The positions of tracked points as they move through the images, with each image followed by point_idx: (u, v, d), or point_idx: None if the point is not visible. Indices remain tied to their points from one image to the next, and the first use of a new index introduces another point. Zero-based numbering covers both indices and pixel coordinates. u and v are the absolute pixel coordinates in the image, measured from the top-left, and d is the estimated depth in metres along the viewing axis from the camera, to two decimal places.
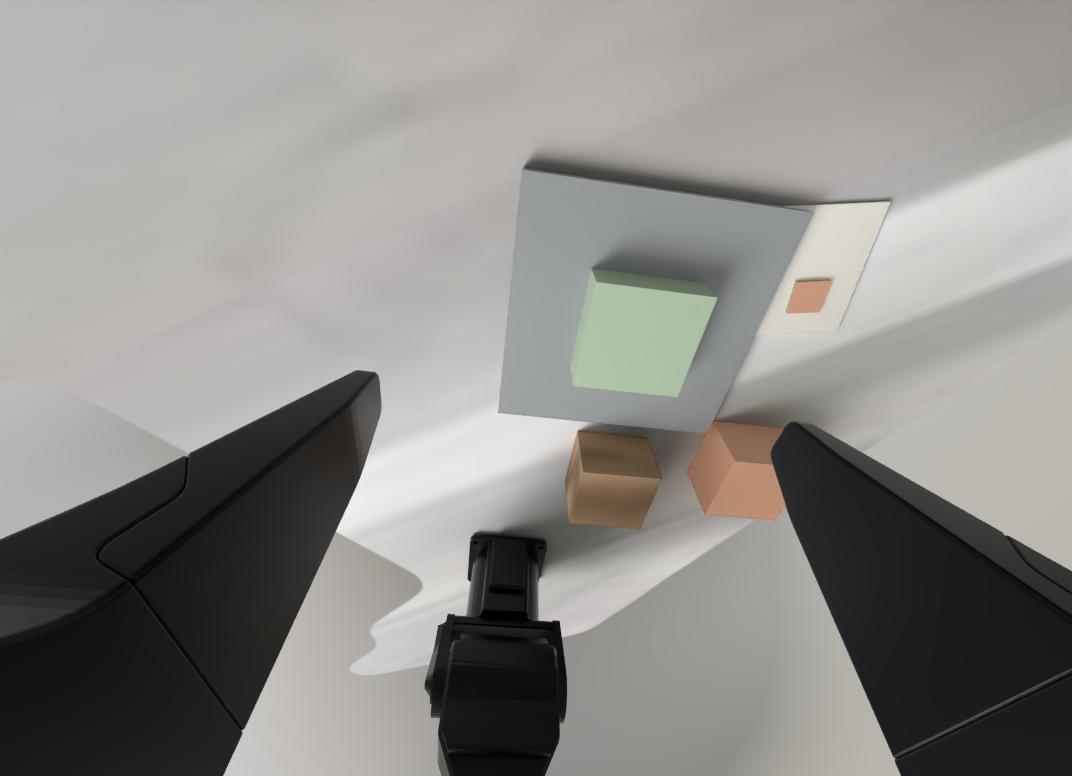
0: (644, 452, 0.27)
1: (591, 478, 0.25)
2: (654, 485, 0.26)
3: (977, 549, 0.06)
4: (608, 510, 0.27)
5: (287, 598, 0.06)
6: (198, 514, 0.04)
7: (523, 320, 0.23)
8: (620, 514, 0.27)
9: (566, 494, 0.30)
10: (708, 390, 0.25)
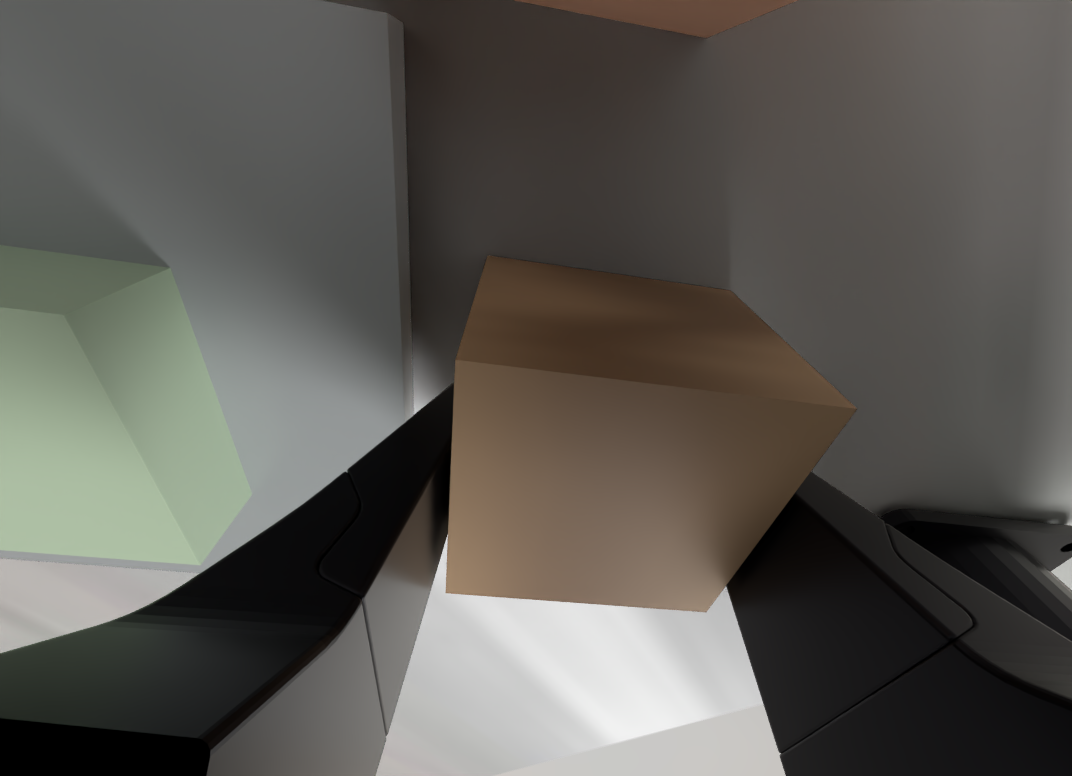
0: None
1: (474, 576, 0.07)
2: (505, 386, 0.05)
3: (847, 537, 0.05)
4: (665, 527, 0.06)
5: (418, 607, 0.06)
6: (387, 530, 0.04)
7: None
8: (705, 491, 0.06)
9: None
10: (144, 77, 0.06)
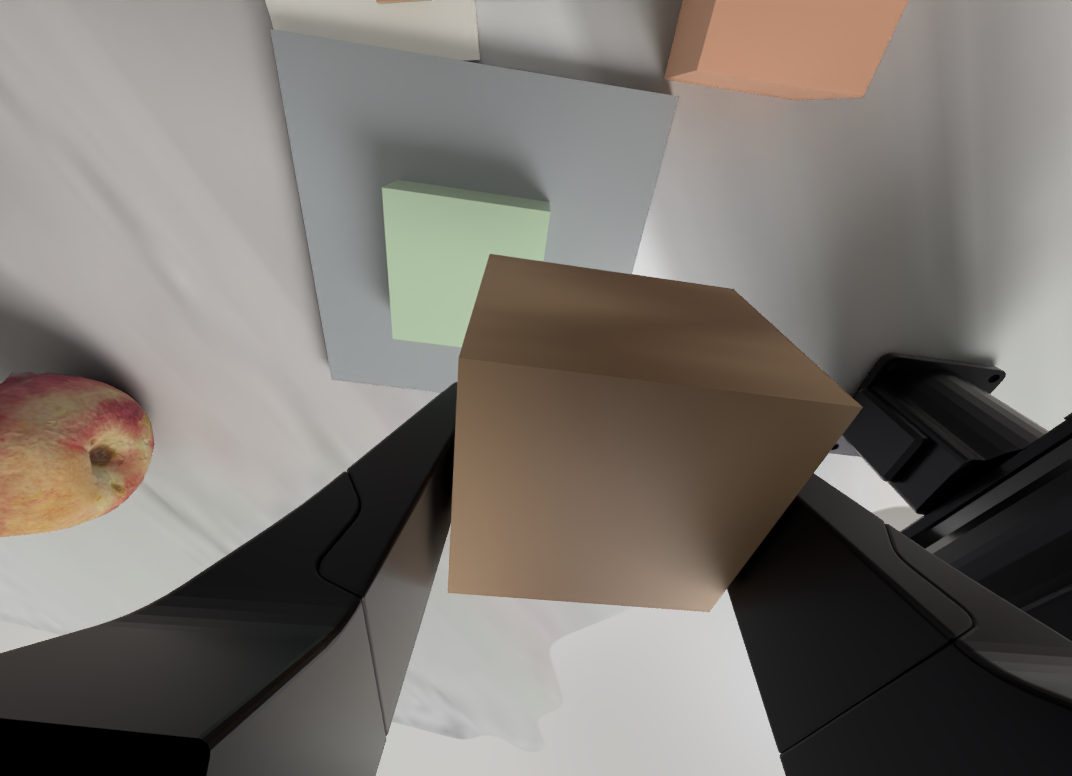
0: None
1: (477, 575, 0.07)
2: (508, 384, 0.05)
3: (847, 537, 0.05)
4: (668, 526, 0.06)
5: (418, 607, 0.06)
6: (387, 530, 0.04)
7: None
8: (709, 491, 0.06)
9: None
10: (577, 121, 0.15)
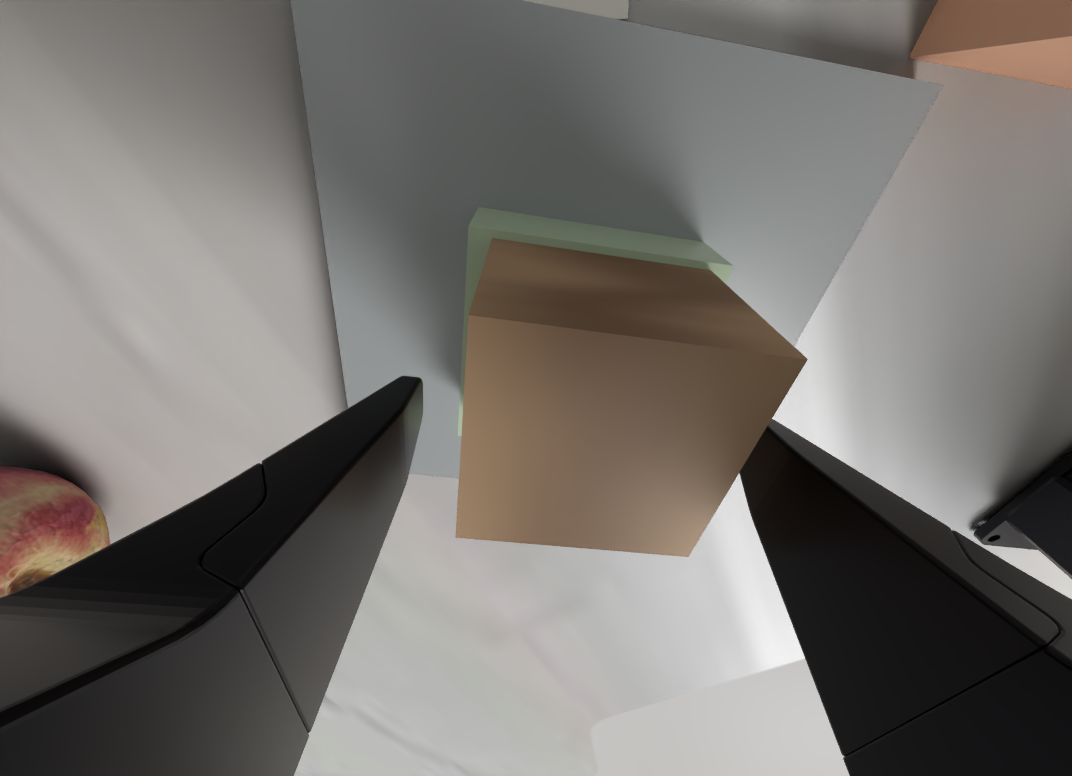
0: None
1: (482, 520, 0.08)
2: (509, 338, 0.06)
3: (919, 544, 0.06)
4: (649, 472, 0.07)
5: (348, 602, 0.06)
6: (286, 522, 0.04)
7: None
8: (682, 437, 0.07)
9: None
10: (773, 122, 0.09)
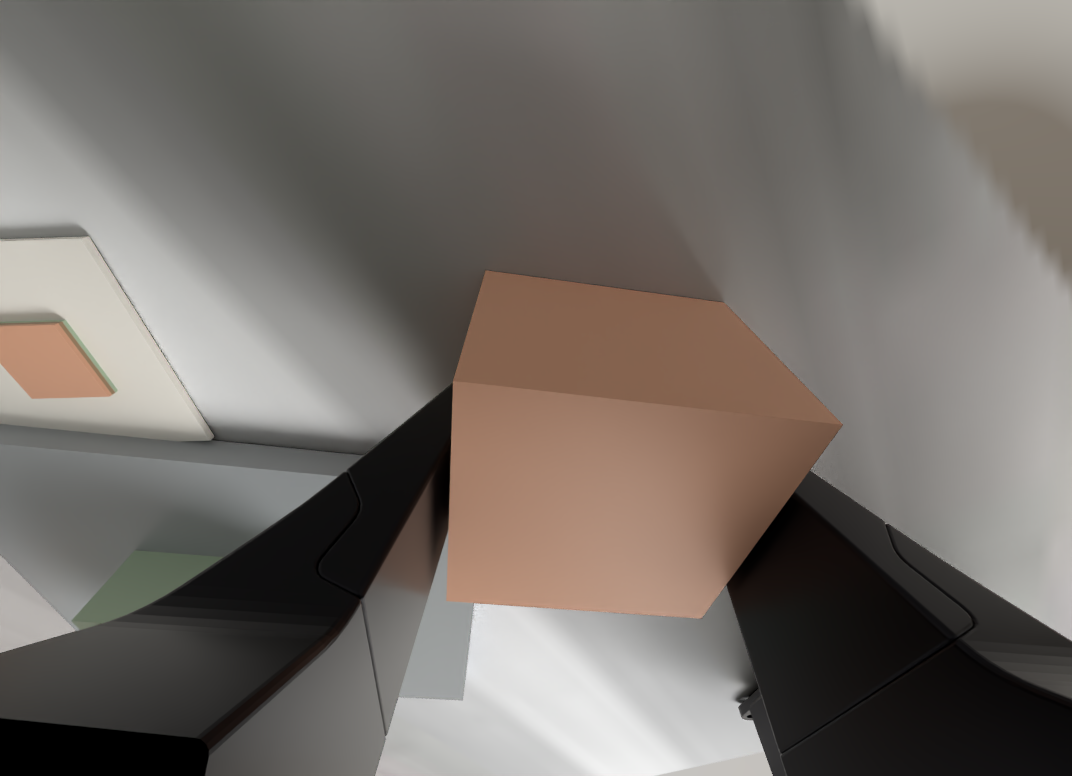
0: None
1: None
2: None
3: (848, 537, 0.05)
4: None
5: (418, 607, 0.06)
6: (386, 530, 0.04)
7: None
8: None
9: None
10: None
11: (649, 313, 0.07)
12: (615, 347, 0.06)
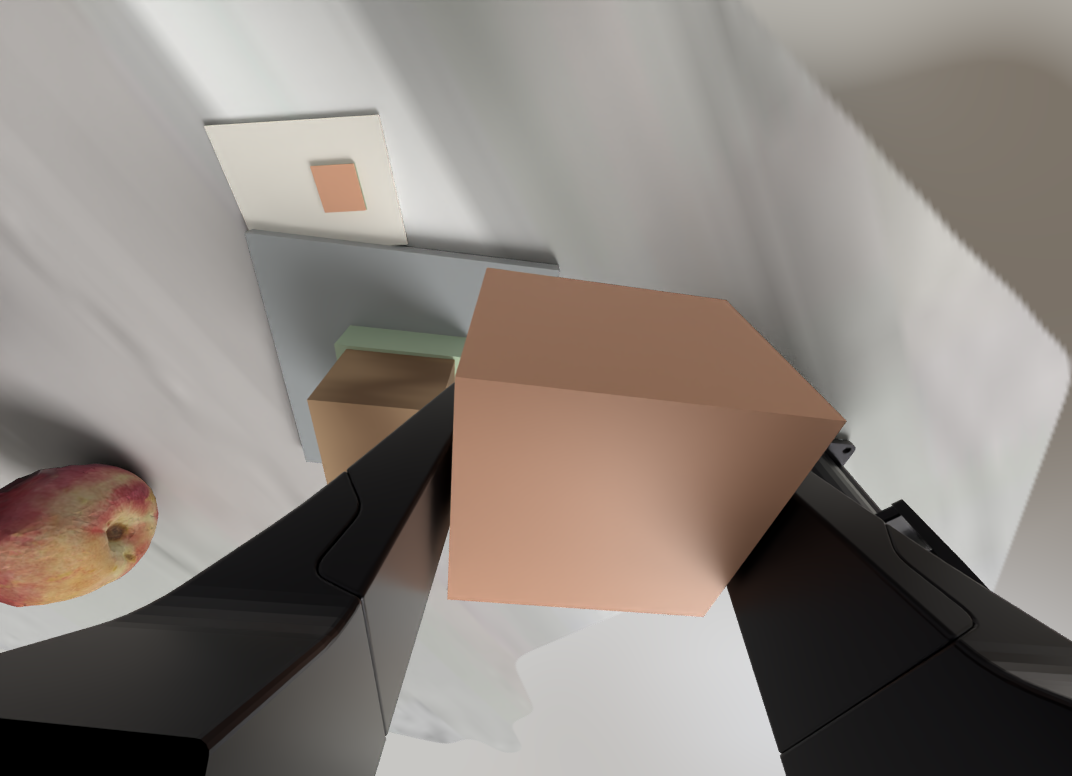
0: None
1: None
2: (324, 407, 0.16)
3: (848, 537, 0.05)
4: None
5: (418, 607, 0.06)
6: (386, 530, 0.04)
7: None
8: None
9: None
10: None
11: (651, 310, 0.07)
12: (618, 343, 0.06)
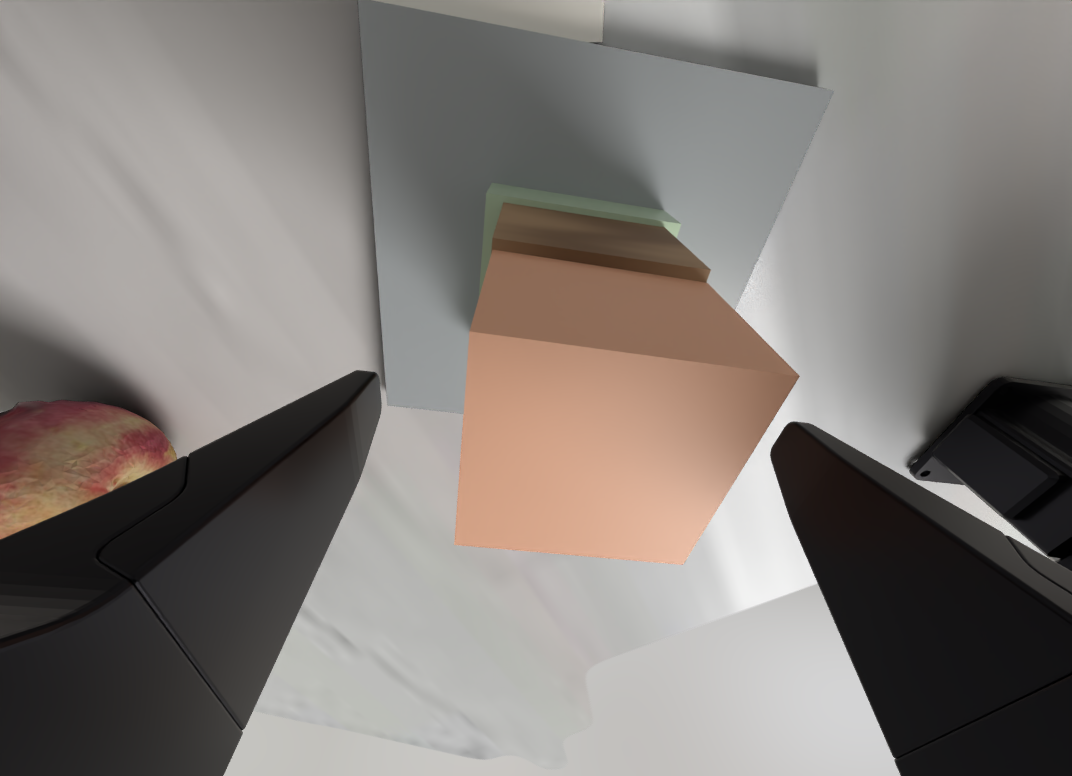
0: None
1: None
2: None
3: (977, 549, 0.06)
4: None
5: (287, 598, 0.06)
6: (198, 514, 0.04)
7: None
8: None
9: None
10: (711, 117, 0.13)
11: (639, 288, 0.08)
12: (608, 312, 0.07)
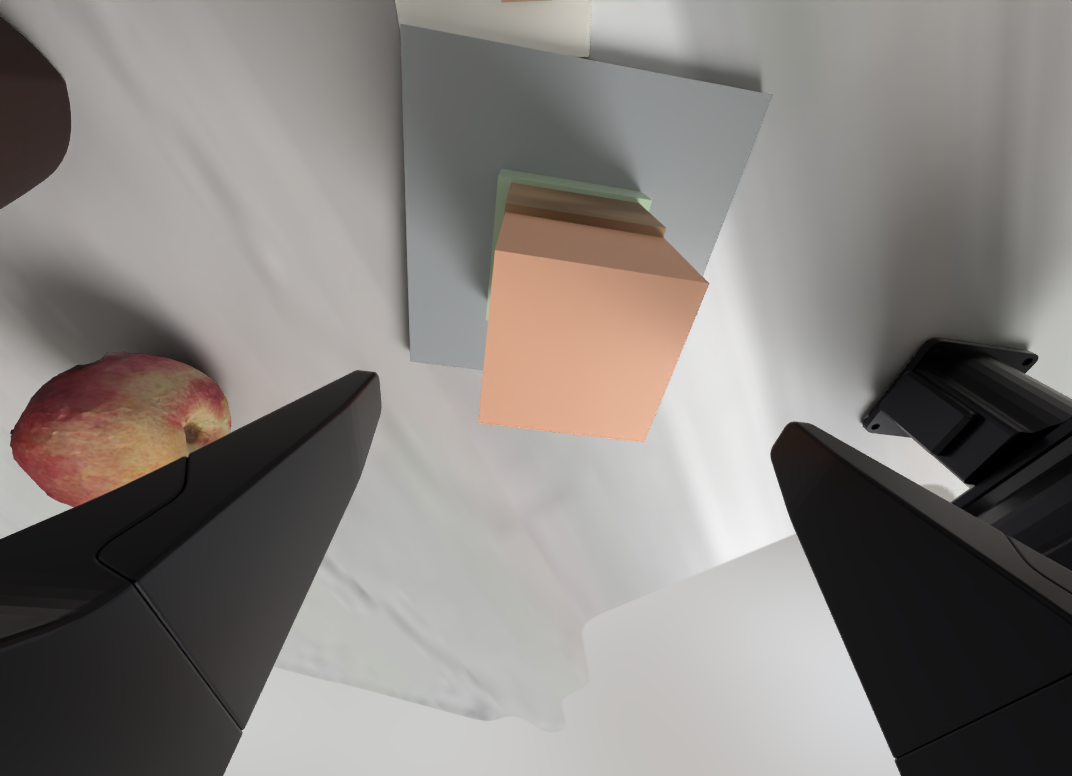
0: None
1: None
2: None
3: (977, 549, 0.06)
4: None
5: (287, 598, 0.06)
6: (198, 514, 0.04)
7: None
8: None
9: None
10: (676, 116, 0.16)
11: (611, 237, 0.12)
12: (586, 248, 0.10)
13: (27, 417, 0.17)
